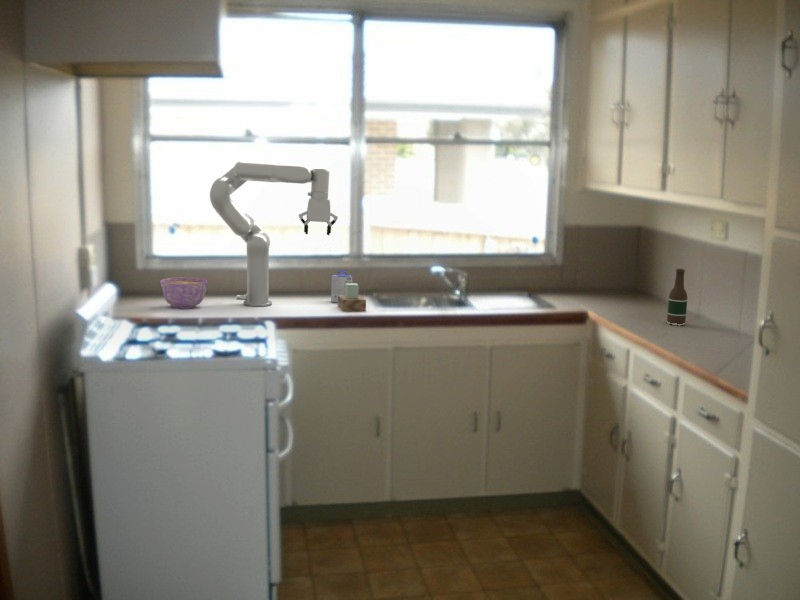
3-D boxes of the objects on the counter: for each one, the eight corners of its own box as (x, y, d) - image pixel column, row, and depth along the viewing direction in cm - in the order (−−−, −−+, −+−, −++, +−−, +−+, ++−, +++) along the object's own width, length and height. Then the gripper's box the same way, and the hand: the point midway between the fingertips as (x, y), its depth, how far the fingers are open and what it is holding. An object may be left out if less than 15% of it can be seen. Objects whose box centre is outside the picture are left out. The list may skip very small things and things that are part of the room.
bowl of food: (217, 307, 391) (217, 281, 389) (177, 313, 376) (177, 285, 374) (190, 301, 404) (190, 276, 402) (151, 306, 389) (150, 279, 388)
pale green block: (347, 298, 396) (347, 285, 395) (345, 296, 401) (345, 283, 400) (358, 298, 397) (358, 284, 396) (356, 296, 402) (356, 283, 401)
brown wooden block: (343, 311, 393) (343, 300, 392) (337, 306, 405) (338, 295, 404) (365, 311, 395) (366, 299, 394) (359, 306, 407) (359, 295, 407)
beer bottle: (688, 326, 386) (693, 270, 382) (673, 326, 384) (677, 270, 380) (678, 322, 394) (683, 267, 390) (662, 322, 391) (667, 268, 387)
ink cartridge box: (352, 300, 421) (352, 270, 418) (352, 302, 415) (353, 271, 413) (330, 300, 420) (331, 269, 417) (330, 302, 414) (331, 271, 412)
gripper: (300, 195, 392) (298, 234, 394) (340, 197, 396) (337, 236, 398) (298, 194, 399) (296, 232, 402) (337, 196, 403) (335, 234, 406)
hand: (317, 234), depth 400 cm, fingers open, 9 cm apart
